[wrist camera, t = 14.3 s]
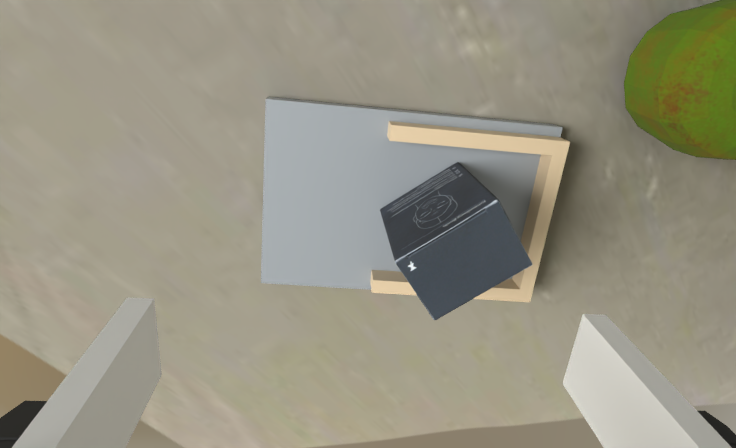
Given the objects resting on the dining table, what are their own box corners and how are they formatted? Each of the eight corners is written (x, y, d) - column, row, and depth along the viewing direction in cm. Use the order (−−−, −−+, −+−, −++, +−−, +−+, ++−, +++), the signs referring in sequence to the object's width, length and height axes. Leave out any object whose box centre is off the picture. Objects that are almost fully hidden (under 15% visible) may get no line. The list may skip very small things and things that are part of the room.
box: (411, 258, 43) (433, 324, 33) (378, 208, 41) (391, 261, 31) (489, 213, 41) (536, 266, 32) (459, 158, 40) (499, 198, 30)
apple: (759, 11, 38) (911, 1, 28) (713, 145, 42) (833, 178, 32) (628, -3, 37) (736, -19, 27) (593, 135, 41) (677, 166, 31)
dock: (263, 275, 44) (257, 293, 41) (268, 96, 38) (262, 101, 35) (515, 291, 46) (529, 310, 43) (555, 124, 41) (573, 131, 37)
